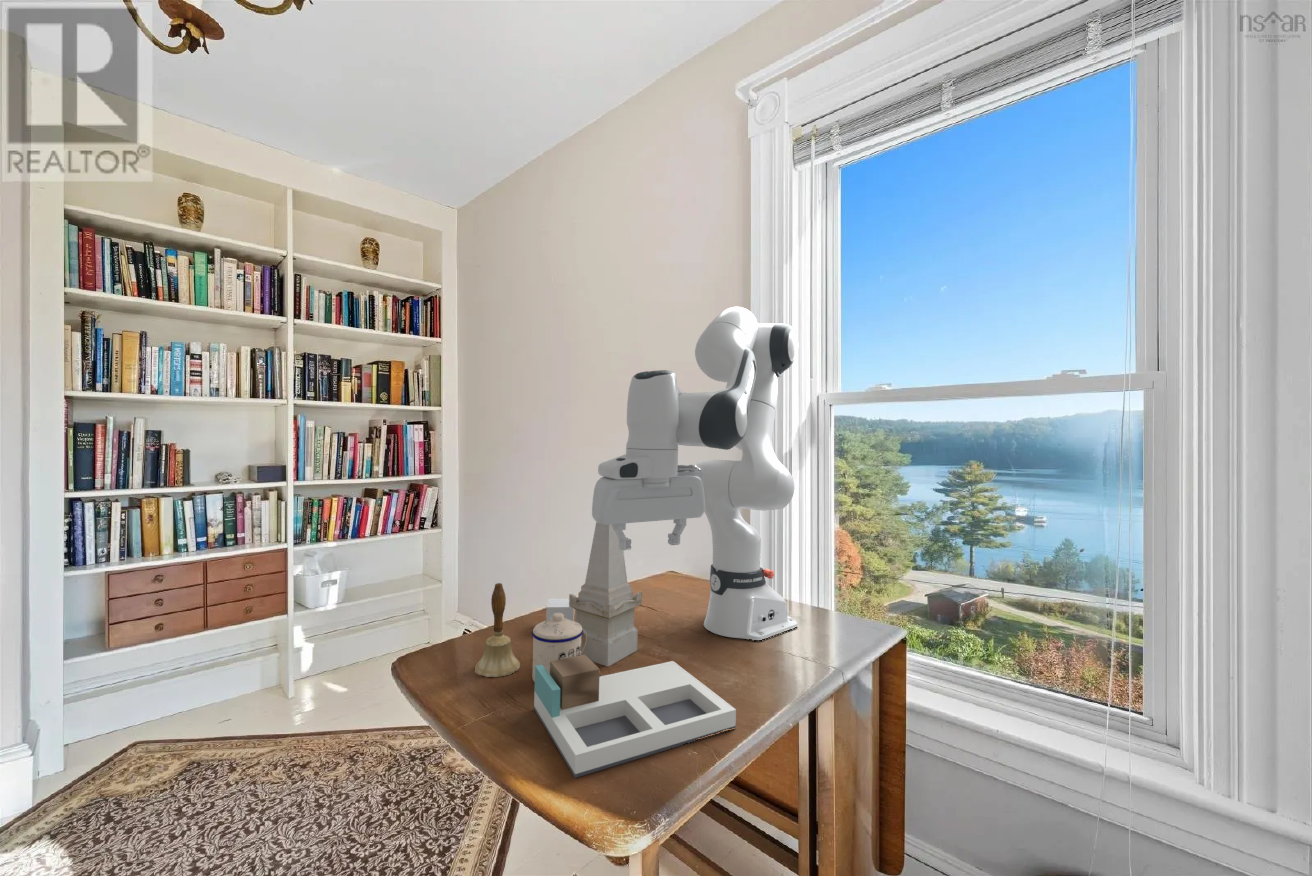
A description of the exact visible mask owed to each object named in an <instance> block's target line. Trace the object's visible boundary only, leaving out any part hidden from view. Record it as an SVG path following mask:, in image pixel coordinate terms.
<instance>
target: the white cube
mask: <svg viewBox="0 0 1312 876" xmlns="http://www.w3.org/2000/svg"><path fill="white" fill-rule="evenodd" d="M555 613H562V614H563V615H564V618H567V619H569V620H572V621H575V609H574V608H572V607H569V598H548V600H547V604H546V613H545V614H546V615H545V616H546V617H545V621H547V620H549V619H551V618H553V614H555Z"/></svg>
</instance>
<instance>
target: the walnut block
mask: <svg viewBox="0 0 1312 876" xmlns="http://www.w3.org/2000/svg"><path fill="white" fill-rule="evenodd" d="M600 673H601V672H600V668H599V667H598V666H597V665H596V663H595V662H593V661H591V660H590V659H589V658H588V657H587V656H586V655H580V656H575V657H570V658H565V659H560V660H554V661H550V676H551V677H552V678H553V680H554V681H555V682H556V684H557V685H558V686H559V688H560V708H561V709H562V710H564V709H568V708H572V707H576V706H580V705H584V704H588V703H592V702H596V701H599V677H600Z"/></svg>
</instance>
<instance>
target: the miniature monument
mask: <svg viewBox="0 0 1312 876" xmlns="http://www.w3.org/2000/svg"><path fill="white" fill-rule="evenodd" d="M590 548H591V549H590V553H589V559H588V566H587V570H586V575H585V576H586V577H585V582H584V584H582V585H581V586H580V590H579V592H578V594H577V596H578V597H577V596H576V595H575V594H573V593H572V594H571V593H569V594H568V595H569V596H568V597H569V598H568V599H569V607H572V608H574V610H576V611H575V622H577V623H579V624H580V625H581V627H582V629H583V630H585V631H586V633H587V643H586V646H585V649H584V651H583V652H582V653H581V655H586V656H587V657H588V658H589V659H590V660H591V661H592V662H593V663H595V664H599V665H602V666H605V667H610V666H612V665H614V664H615V663H617V662H619V661H620V660H622V659H625V658H626V657H628V656H629V655H632V654H633V653H635V652H637V651H638V629H637V627H635V608H637V607H639V606H640V605H642V598H643V597H642V596H643V592H642V591H638V592H636V593H635V594H634V591H633V590H632V585H631V584H630V583H629V582H628V576H627V575H628V574H627V570H626V569H627V568H626V567H627V566H626V560H625V552H624V551H625V550H623V551H622V550H620V549H619V538H618V537H617V535H616V533H615V531H614V530H613V524H611V525H602V524H600V523H598V522H596V521H595V527H594V533H593V539H592V544H591V547H590Z"/></svg>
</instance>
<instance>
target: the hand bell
mask: <svg viewBox="0 0 1312 876" xmlns="http://www.w3.org/2000/svg"><path fill="white" fill-rule="evenodd" d="M506 600H507V599H506V593H505V589H504V587H503V583H501V582H497V583H495V585H494V588H493V591H492V594H491V604H490V605H491V610H492V614H493V635H492V636H490V637H488V638H486V640H485V647H484V651H483V654H482V657H481V658H480V660H479V661H477V663H476V665H475V666H474V668H475V671H476V672H477V673H478V674H479V675H483V676H487V677H488V676H489V677H498V678H502V677H501V676H504V677H506V676H505V675H508V676H510V675H512V673H513V674H515V673H516V672H517V671H519V670H520V667H521V663H520V660H519V659H518V658H516V657H515V655H514V652H513V650H512V644H511V642H512V641H511V638H510V636H508V635H505V634H504V627H503V626H504V624H503V623H504V620H503V617H504V612H505V609H506V605H507V604H506V602H507V601H506ZM475 671H474V672H475ZM515 671H516V672H515ZM479 675H478V676H479ZM499 676H500V677H499ZM487 677H486V678H487Z"/></svg>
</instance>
